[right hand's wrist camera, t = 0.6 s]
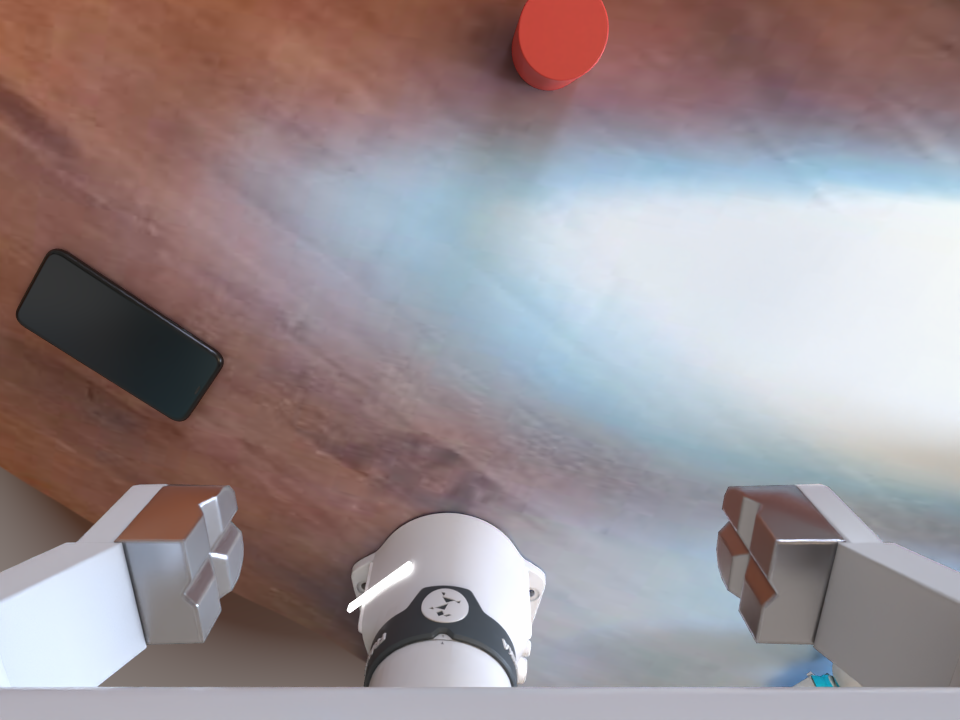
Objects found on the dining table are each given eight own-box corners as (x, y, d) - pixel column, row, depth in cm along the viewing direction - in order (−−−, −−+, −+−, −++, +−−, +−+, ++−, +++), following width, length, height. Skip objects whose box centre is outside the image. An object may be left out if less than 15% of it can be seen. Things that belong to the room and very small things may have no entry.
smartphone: (16, 316, 52) (185, 423, 55) (8, 319, 51) (181, 427, 54) (57, 241, 50) (230, 356, 53) (49, 243, 49) (226, 360, 52)
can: (578, -4, 44) (598, -34, 37) (594, 78, 46) (616, 66, 39) (503, 19, 45) (507, -6, 37) (521, 99, 47) (529, 91, 39)
